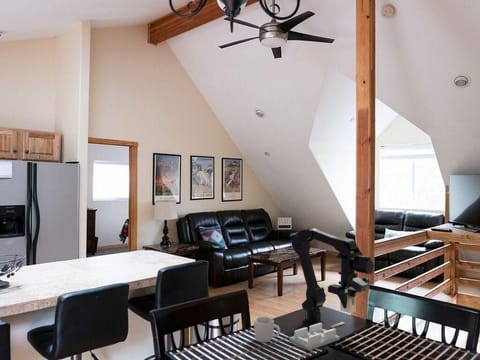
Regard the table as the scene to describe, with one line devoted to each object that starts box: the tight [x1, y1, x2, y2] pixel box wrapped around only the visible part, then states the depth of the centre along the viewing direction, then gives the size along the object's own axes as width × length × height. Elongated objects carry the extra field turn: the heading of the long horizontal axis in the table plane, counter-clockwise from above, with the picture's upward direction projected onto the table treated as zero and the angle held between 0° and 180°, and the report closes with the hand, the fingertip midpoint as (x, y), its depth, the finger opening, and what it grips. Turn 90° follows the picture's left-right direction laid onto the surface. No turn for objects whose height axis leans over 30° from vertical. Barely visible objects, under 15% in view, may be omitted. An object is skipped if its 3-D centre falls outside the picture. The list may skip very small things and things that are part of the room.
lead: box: [329, 321, 345, 329], centre depth 168 cm, size 8×1×1 cm, turn 126°
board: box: [289, 322, 341, 351], centre depth 153 cm, size 11×17×4 cm, turn 126°
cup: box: [253, 316, 281, 343], centre depth 152 cm, size 11×8×8 cm
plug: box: [339, 296, 356, 314], centre depth 159 cm, size 6×3×6 cm, turn 36°
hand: (347, 307), depth 159 cm, fingers closed on plug, 3 cm apart
